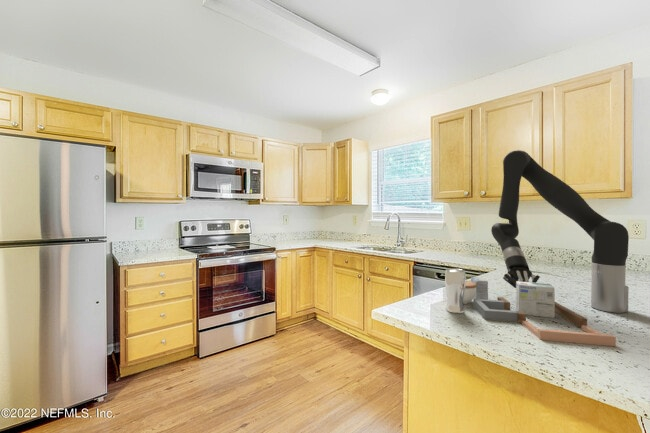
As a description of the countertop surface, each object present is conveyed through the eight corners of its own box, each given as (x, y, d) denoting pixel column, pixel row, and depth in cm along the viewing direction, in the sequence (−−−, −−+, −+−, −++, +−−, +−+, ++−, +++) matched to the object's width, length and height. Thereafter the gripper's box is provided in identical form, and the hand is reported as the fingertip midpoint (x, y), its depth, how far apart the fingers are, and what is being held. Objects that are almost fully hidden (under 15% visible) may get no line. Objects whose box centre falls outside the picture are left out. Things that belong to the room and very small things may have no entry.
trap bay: (502, 308, 110) (502, 300, 110) (517, 321, 96) (517, 312, 96) (473, 306, 112) (473, 298, 112) (484, 319, 98) (484, 310, 98)
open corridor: (552, 308, 110) (552, 300, 110) (587, 328, 91) (587, 318, 91) (497, 304, 115) (497, 296, 115) (519, 322, 95) (519, 313, 95)
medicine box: (488, 302, 117) (488, 281, 117) (476, 301, 118) (476, 280, 118) (481, 297, 125) (481, 277, 125) (470, 296, 126) (470, 276, 126)
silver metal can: (469, 314, 104) (469, 272, 103) (449, 313, 104) (449, 272, 103) (460, 307, 110) (460, 268, 110) (441, 307, 111) (442, 268, 110)
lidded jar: (448, 296, 126) (449, 274, 126) (476, 300, 121) (477, 277, 120) (445, 302, 117) (445, 279, 117) (475, 307, 111) (475, 282, 111)
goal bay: (587, 329, 90) (587, 321, 90) (615, 346, 79) (615, 337, 79) (522, 324, 94) (522, 316, 94) (540, 339, 83) (540, 330, 83)
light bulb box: (549, 312, 106) (550, 283, 105) (555, 318, 99) (555, 287, 99) (515, 308, 110) (515, 280, 110) (518, 314, 104) (518, 284, 104)
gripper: (499, 254, 121) (511, 290, 109) (535, 255, 118) (551, 293, 106) (495, 264, 126) (505, 300, 114) (529, 266, 123) (544, 303, 111)
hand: (527, 297), depth 110 cm, fingers closed
